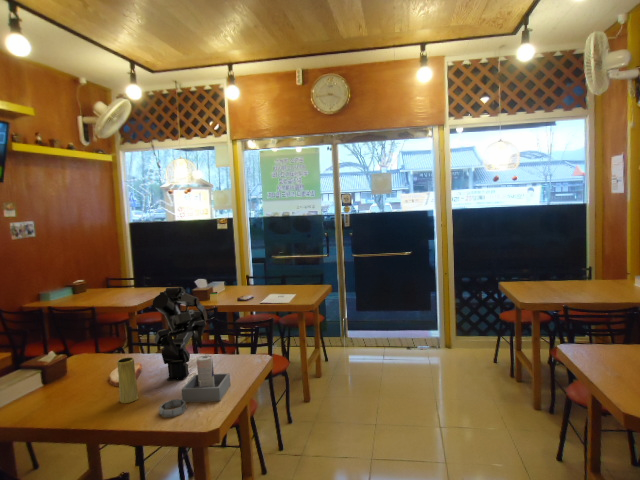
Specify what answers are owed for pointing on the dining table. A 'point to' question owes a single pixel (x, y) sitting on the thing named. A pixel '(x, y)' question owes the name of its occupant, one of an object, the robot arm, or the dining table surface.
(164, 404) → the metal collar
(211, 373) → the energy drink
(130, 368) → the vase
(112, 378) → the bread slice
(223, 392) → the bin
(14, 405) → the dining table surface
